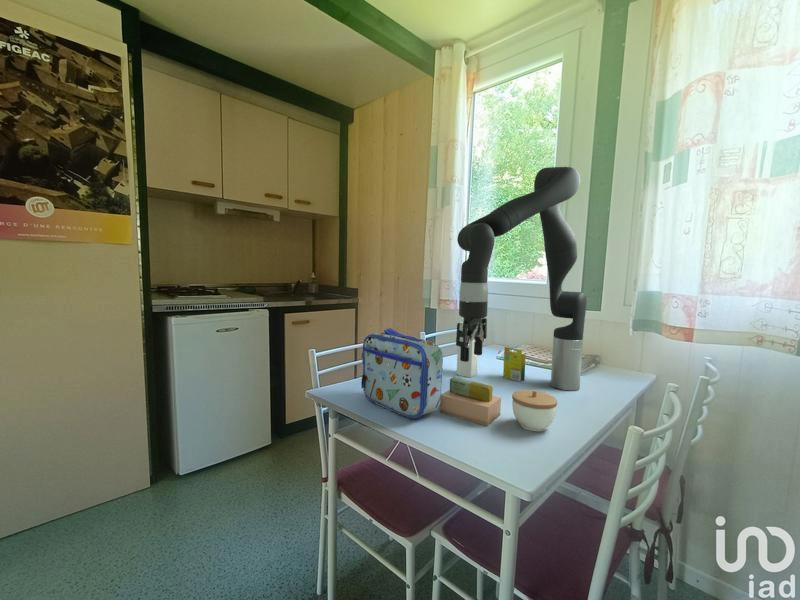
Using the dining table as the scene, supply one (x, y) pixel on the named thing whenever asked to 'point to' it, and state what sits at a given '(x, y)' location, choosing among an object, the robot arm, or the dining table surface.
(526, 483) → the dining table surface
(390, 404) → the lunch box
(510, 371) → the crayon box
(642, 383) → the dining table surface
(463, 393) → the medication box
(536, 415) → the lidded jar
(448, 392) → the beige slotted holder
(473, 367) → the milk
